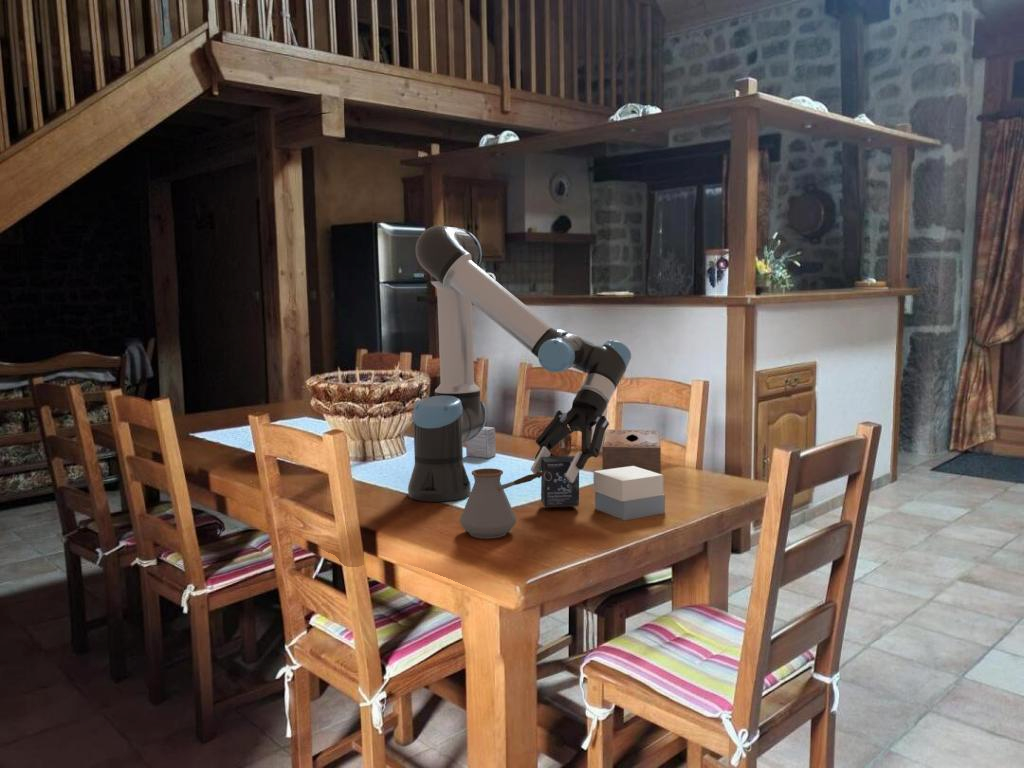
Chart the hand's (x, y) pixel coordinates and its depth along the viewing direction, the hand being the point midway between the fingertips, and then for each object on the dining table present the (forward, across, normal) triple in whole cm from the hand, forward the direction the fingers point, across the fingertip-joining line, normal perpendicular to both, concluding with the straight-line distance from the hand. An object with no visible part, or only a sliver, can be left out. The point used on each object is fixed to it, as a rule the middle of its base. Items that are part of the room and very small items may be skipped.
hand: (551, 476), depth 186 cm
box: (+3, 0, -7) cm, 8 cm away
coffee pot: (+21, -5, +9) cm, 23 cm away
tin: (-30, +37, -42) cm, 63 cm away
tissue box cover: (-24, +6, -36) cm, 44 cm away
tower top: (-5, -13, -10) cm, 17 cm away
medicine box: (-19, +54, -31) cm, 65 cm away
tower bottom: (-2, -14, -14) cm, 19 cm away
